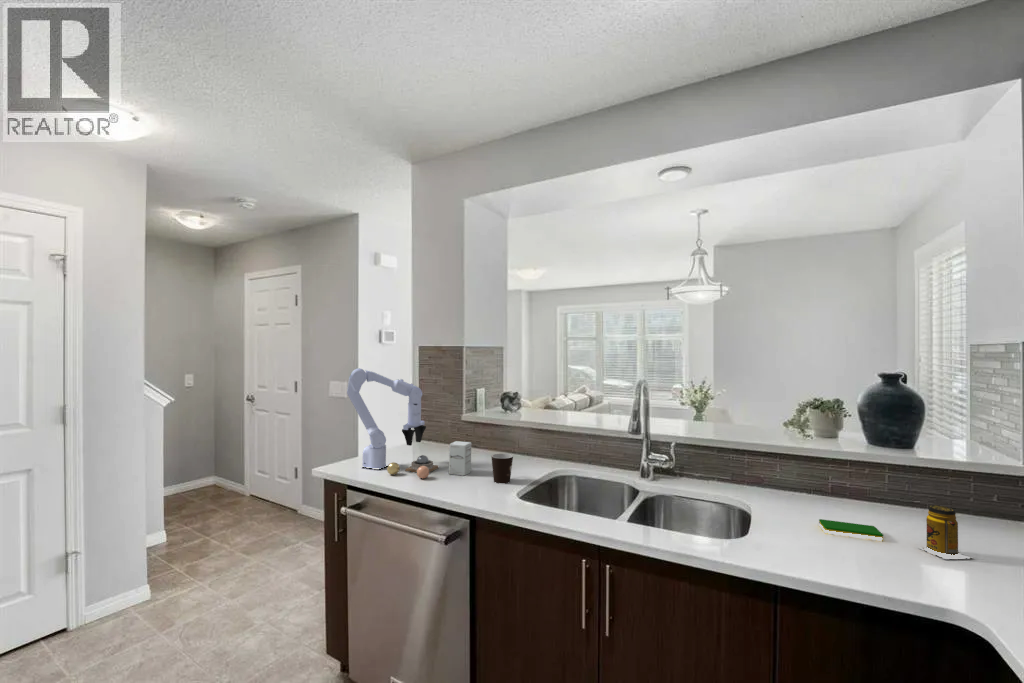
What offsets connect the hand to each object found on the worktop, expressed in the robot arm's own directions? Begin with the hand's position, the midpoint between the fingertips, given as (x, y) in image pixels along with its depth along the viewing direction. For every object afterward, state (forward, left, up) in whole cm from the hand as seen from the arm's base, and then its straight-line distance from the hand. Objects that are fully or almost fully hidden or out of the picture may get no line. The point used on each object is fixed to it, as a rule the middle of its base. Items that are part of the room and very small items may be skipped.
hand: (413, 443), depth 203 cm
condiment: (+177, -25, -10) cm, 179 cm away
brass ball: (+1, -17, -7) cm, 18 cm away
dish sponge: (+158, -18, -10) cm, 159 cm away
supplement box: (+25, -4, -10) cm, 27 cm away
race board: (+8, -6, -9) cm, 14 cm away
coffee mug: (+46, -7, -10) cm, 48 cm away
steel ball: (+8, -6, -6) cm, 11 cm away
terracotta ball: (+15, -17, -7) cm, 24 cm away
